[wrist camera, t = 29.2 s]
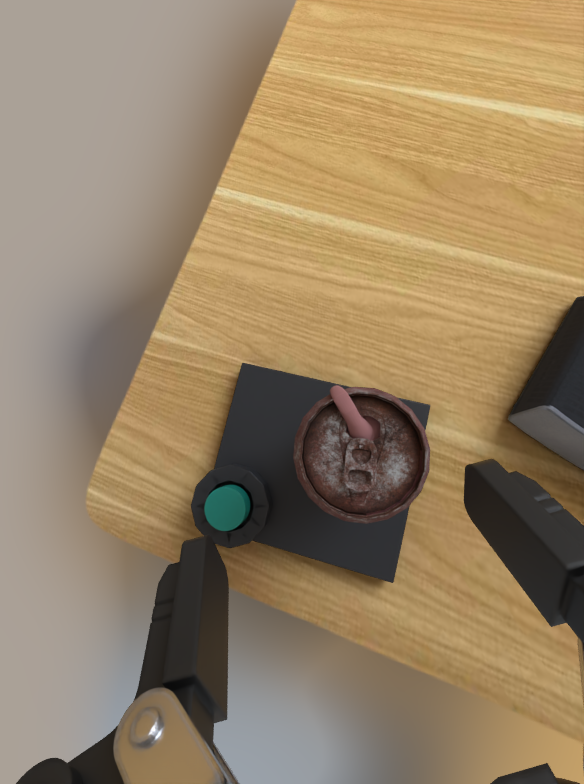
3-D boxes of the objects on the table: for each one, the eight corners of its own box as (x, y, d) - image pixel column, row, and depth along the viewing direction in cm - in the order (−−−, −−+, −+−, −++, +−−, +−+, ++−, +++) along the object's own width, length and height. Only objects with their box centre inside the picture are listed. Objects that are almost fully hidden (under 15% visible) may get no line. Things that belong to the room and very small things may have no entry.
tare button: (206, 519, 29) (199, 524, 27) (217, 479, 29) (210, 482, 27) (244, 531, 28) (239, 536, 27) (255, 490, 28) (250, 493, 27)
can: (361, 393, 30) (382, 353, 16) (403, 462, 29) (465, 482, 15) (297, 430, 30) (263, 422, 16) (336, 500, 29) (336, 555, 15)
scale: (197, 525, 31) (182, 534, 28) (240, 364, 33) (230, 356, 30) (389, 583, 29) (395, 600, 26) (426, 406, 30) (436, 402, 27)
